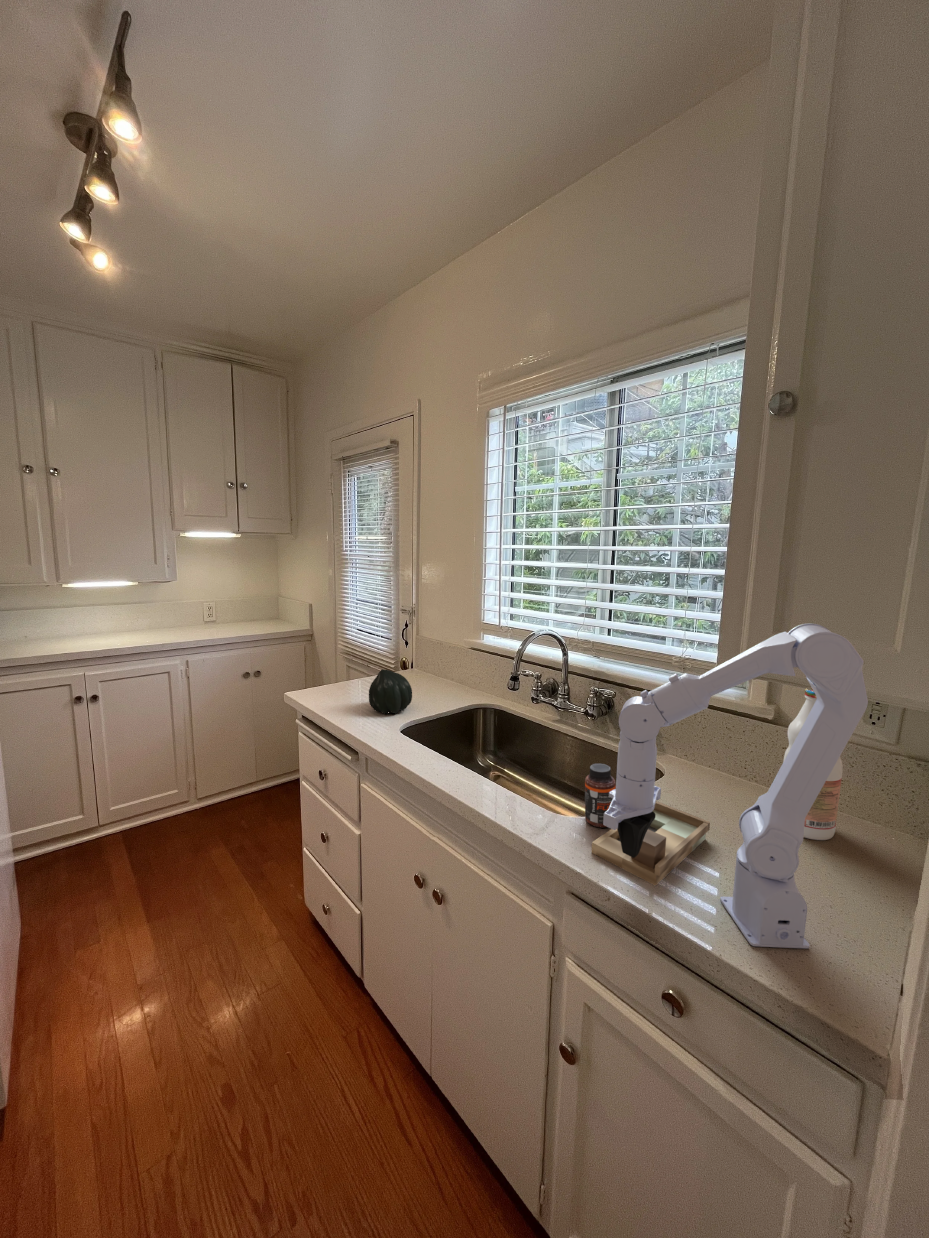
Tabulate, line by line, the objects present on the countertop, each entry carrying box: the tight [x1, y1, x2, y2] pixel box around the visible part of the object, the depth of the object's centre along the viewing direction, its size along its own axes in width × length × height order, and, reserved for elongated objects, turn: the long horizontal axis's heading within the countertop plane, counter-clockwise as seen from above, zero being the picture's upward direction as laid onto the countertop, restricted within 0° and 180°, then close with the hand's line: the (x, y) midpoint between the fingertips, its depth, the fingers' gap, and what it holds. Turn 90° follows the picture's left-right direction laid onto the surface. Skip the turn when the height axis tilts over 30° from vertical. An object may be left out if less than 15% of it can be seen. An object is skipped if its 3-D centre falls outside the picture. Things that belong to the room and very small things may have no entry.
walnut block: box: [631, 830, 666, 869], centre depth 84 cm, size 4×4×4 cm
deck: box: [591, 800, 711, 887], centre depth 91 cm, size 20×13×4 cm, turn 133°
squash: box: [368, 668, 413, 714], centre depth 166 cm, size 14×15×15 cm
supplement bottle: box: [584, 763, 616, 829], centre depth 99 cm, size 6×6×11 cm
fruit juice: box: [782, 688, 844, 841], centre depth 96 cm, size 9×9×28 cm
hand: (630, 853), depth 80 cm, fingers closed
